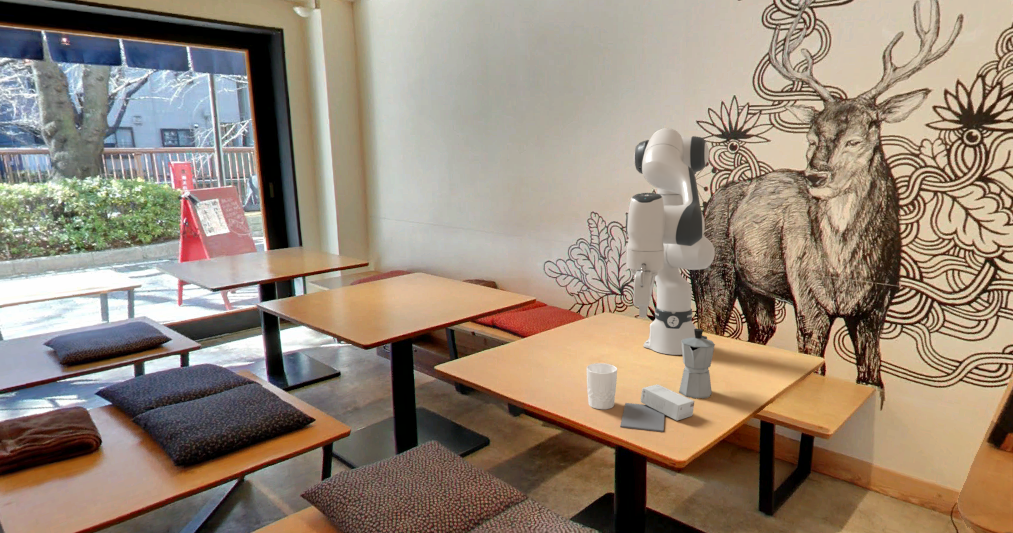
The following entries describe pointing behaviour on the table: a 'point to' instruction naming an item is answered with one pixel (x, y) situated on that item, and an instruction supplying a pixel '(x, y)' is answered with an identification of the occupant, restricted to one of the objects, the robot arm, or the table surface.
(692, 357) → the coffee maker
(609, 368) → the white cup
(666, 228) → the robot arm
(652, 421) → the mat
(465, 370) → the table surface
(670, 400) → the skincare box
